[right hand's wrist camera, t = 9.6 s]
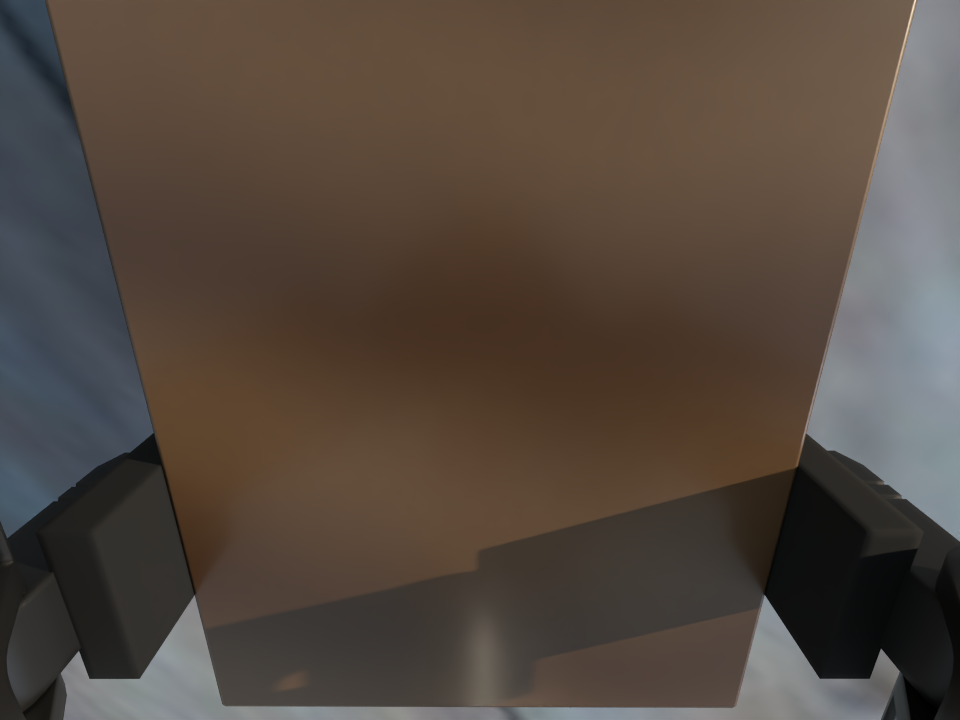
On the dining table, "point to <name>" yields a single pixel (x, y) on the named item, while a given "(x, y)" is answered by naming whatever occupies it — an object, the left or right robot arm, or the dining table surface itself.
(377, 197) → the cabinet
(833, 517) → the right robot arm
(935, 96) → the dining table surface
